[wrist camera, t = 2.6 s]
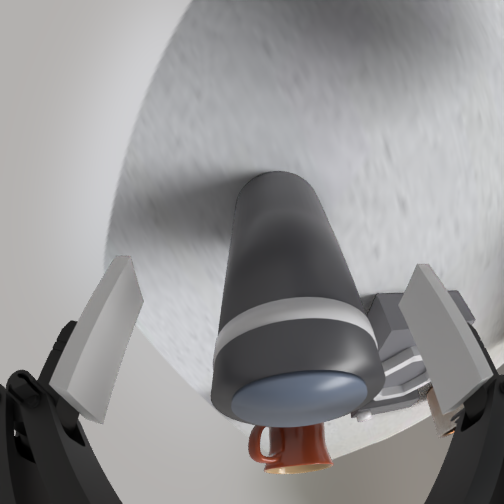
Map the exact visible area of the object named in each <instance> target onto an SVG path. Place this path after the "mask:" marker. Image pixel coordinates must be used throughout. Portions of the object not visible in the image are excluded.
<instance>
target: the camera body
mask: <svg viewBox="0 0 504 504" xmlns="http://www.w3.org/2000/svg"><path fill="white" fill-rule="evenodd" d="M448 293H449V294H450V296H451V298H452V299H453V301H454V302H455V304H456V306H457V307H458V309H459V310H460V312H461V314H462V315H463V317H464V319H465V321H466V322H469V323H470V325H472V324H473V323H474V321H475V318H474V316H473V314H472V313H471V311H470V309H469V308H468V306H467V304H466V303H465V301H464V299H463V298H462V296H461V295H460V293H459V292H458V291H448ZM403 294H404V293H391V294H376V297H375V299H374V301H373V304H372V306H371V308H370V310H369V313H368V315H367V318H368V320H369V321H370V324H371V326H372V329H373V332H374V335H375V338H376V341H377V345H378V353H379V356H380V359H381V362H382V366H383V369H384V373H385V378H386V381H385V385H384V387H383V388H382V390H381V391H380V393H379V394H378V395H377V396H376V397H375V398H374V399H373V400H371V401H370V402H369V403H367V404H366V405H364V406H363V407H361V408H359V409H357V410H356V411H354V412H351V418H355V417H357V421H358V422H363V421H367V420H369V419H371V418H372V415H373V414H379V413H384V412H389V411H394V410H398V409H403V408H407V407H411V406H412V405H413V404H414V403H415V402H416V401H417V400H419V399H420V396H419V393H418V388H420V387H421V386H423V385H425V384H427V383H429V382H431V380H430V377H429V375H428V372H427V370H426V367H425V365H424V362H423V360H422V357H421V355H420V352H419V350H418V347H417V345H416V343H415V340H414V338H413V336H412V334H411V331H410V329H409V327H408V325H407V323H406V320H405V318H404V316H403V314H402V312H401V310H400V308H399V306H398V305H399V303H400V301H401V299H402V296H403Z"/></svg>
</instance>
